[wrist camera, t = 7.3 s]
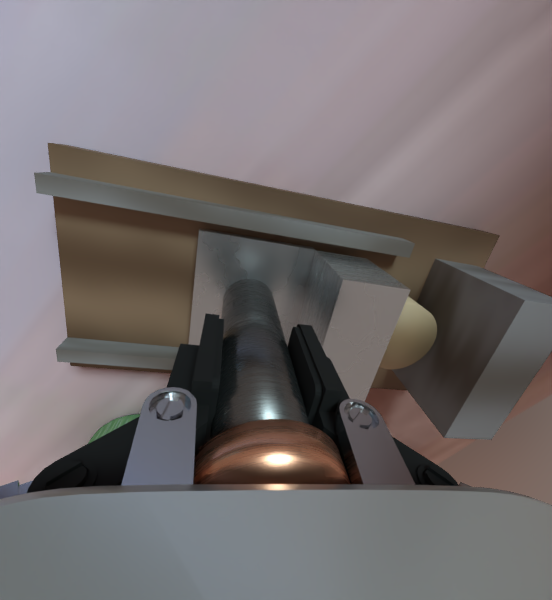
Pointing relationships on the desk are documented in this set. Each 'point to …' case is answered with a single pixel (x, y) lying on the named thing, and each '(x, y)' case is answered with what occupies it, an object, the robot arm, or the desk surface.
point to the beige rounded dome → (410, 337)
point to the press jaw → (284, 351)
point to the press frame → (290, 229)
